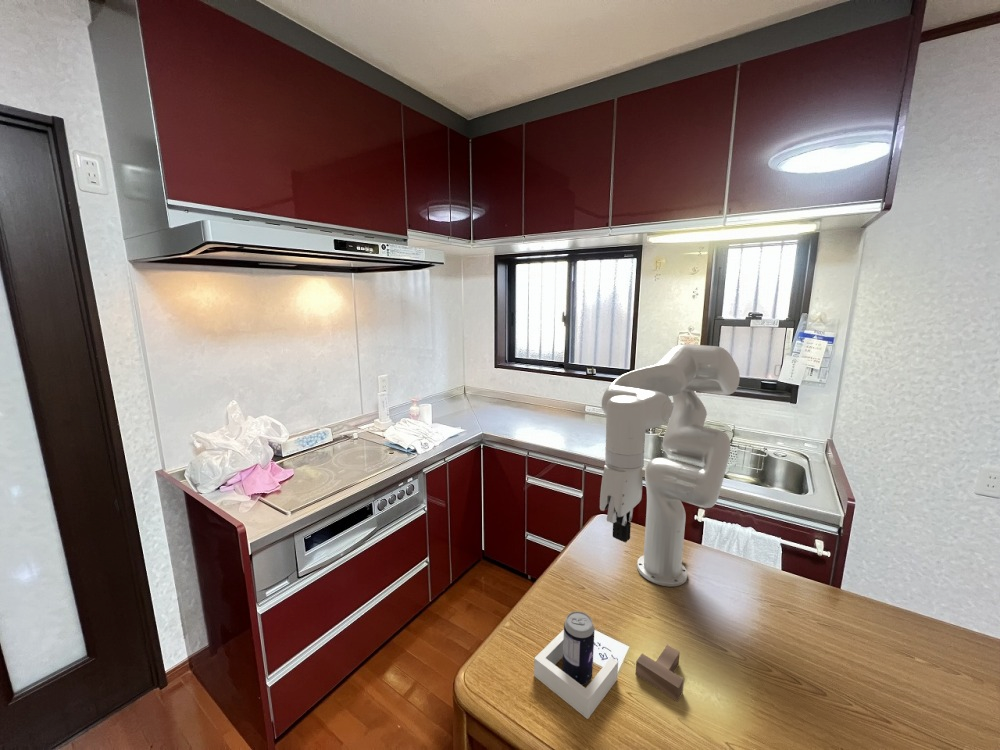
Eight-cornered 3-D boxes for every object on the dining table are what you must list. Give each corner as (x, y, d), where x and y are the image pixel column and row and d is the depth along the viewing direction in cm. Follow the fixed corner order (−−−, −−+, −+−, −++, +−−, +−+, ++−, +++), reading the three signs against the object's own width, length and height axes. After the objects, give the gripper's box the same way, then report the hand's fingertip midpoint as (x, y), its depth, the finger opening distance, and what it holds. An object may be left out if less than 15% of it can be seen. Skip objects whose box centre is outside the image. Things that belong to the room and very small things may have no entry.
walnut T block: (652, 649, 84) (653, 636, 84) (693, 673, 79) (694, 660, 78) (635, 674, 79) (636, 661, 78) (677, 702, 73) (678, 688, 73)
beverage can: (592, 691, 75) (594, 635, 73) (561, 685, 76) (563, 629, 74) (592, 665, 81) (594, 612, 78) (563, 660, 82) (565, 607, 80)
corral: (565, 643, 86) (565, 627, 85) (617, 679, 78) (618, 661, 77) (534, 675, 78) (534, 658, 78) (587, 719, 70) (588, 699, 69)
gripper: (624, 442, 90) (621, 517, 93) (588, 463, 79) (586, 547, 83) (658, 450, 85) (653, 530, 88) (623, 474, 74) (620, 563, 78)
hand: (621, 538), depth 86 cm, fingers closed
